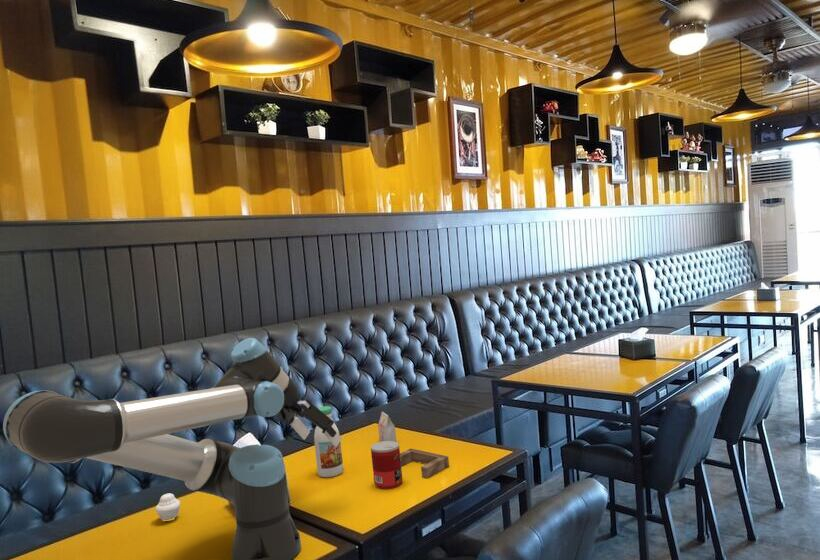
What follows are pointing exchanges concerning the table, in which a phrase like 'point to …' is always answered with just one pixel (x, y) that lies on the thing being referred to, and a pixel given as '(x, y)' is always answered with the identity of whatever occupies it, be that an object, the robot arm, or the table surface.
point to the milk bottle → (327, 450)
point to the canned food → (386, 464)
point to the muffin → (168, 507)
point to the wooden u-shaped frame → (425, 461)
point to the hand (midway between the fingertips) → (322, 439)
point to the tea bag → (386, 428)
